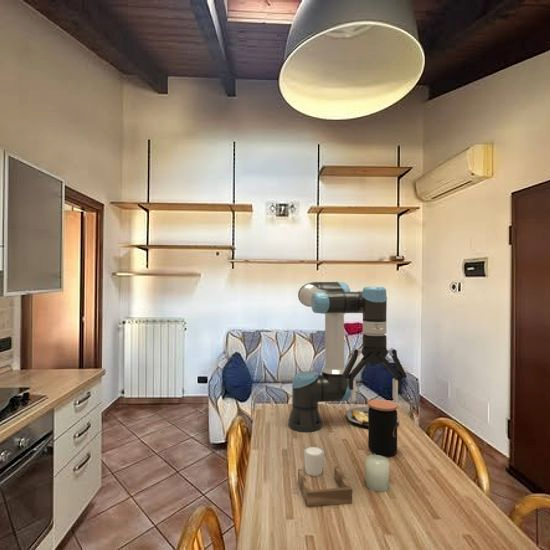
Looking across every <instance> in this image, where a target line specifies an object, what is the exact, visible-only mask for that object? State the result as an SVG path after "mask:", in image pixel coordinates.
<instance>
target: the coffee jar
mask: <svg viewBox="0 0 550 550" xmlns="http://www.w3.org/2000/svg"><path fill="white" fill-rule="evenodd" d="M368 407H369V410H368V413H367V417H368V426H367V427H368V428H367V429H368V431H367V432H368V433H367V435H368V437H367V441H368V449H369V451H370V452H371V453H372V454H373V455H380V456H383V457H385V458H388V457H393V456H395V455H396V453H397V452H398V424H397V418H398V404H397V403H396V402H394V401H392V400H387V399H372V400H369V401H368Z"/></svg>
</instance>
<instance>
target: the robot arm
mask: <svg viewBox="0 0 550 550" xmlns="http://www.w3.org/2000/svg"><path fill="white" fill-rule="evenodd" d="M297 298H298V301H299V302H300V304H302V305H304V306H305V307H309V308H311V310H312V312H313V313H315V314H321V315H323V314H324V317H325V318H324V331H325V332H324V339H325V340H324V342H325V343H324V349H325V350H324V351H325V352H324V353H325V355H324V357H325V359H324V362H325V364H324V368H323V369H322V370H321V374H318V372H317V371H314V370H313V371H311V370H306V371H301V372H298V373H296V374H294V375H293V377H292V382H291V383H292V385H291V388H292V389H291V390H292V393H291V396H292V397H291V399H292V400H291V402H292V404H291V405H292V407H291V410H290V413H289V416H288V420H287V424H288V427H289V428H290V429H291V430H294V431H296V432H303V433H308V432H310V433H311V432H317V431H318V430H321V428H322V427H323V420H322V417H321V414H320V411H319V403H326V402H327V403H329V402H330V403H331V402H338V403H339V402H345V401H348V400H350V398H351V400H352V401H353V402H356V401H357V397H356V396H357V395H356V394H357V386H356V384H357V380H356V379H355V378H356V377H357V376H358V375H359V373H360V372H361V371H362V370H363V368H364V367H365V366H367V364H368V363H370V364H381V363H383V365H385V368H386V369H387V370H388V371H389V372H390V373H391V374H392V375H393V378H392V399H393V400H394V401H395V402H398V401H399V391H400V390H401V382H402V380H403V379H407V374H406V371H405V369H404V368H403V365H402V364H401V362H400V359H399V357H398V352H397V349H394V348H392V347H391V348H390V349H388V348H387V339H388V338H387V335H386V334H387V307H388V306H387V305H388V304H387V301H388V297H387V288H385V287H384V286H365V287H363V288H362V290H361V291H360V290H359V291H351V288H350V286H349V285H348V284H347V283H346V282H342V281H312V282H308V283H306V284H304V285H302V286H300V288H299V290H298V292H297ZM345 314H362V333H363V334H362V348H361V349H359V348H358V349H357V348H352V354H351V357H350V358H349V361H348V362H347V365H346V367H345ZM361 355H362V356H363V357H362V358H361V359H360V360H359V362H358V363H357V365H356V366H355V367H354V365H355V364H356V362H357V359H358V357H359V356H361ZM387 355H389V356H390V357H391V359H392V361H393V363H394V365H395V367H396V369H397V371H398V372H397V371H396V369H395V368H394V367H393V366H392V365H391V364H390V363H389V361H388V360H387V359H386V357H387ZM353 367H354V368H353Z"/></svg>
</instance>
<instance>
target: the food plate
mask: <svg viewBox="0 0 550 550" xmlns="http://www.w3.org/2000/svg"><path fill="white" fill-rule="evenodd" d="M369 407H370V406H363V407H362V406H358V407H352V408H349V409H347V410H346V411H345V412H344V413H345V415H346V417H347V419H348V420H349V421H350V422H351V423H354V424H357V425H361V426H365V427H368V415H366V414H368V410H369ZM399 422H400V419H399V417H397V425H398V424H399Z"/></svg>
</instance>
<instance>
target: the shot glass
mask: <svg viewBox="0 0 550 550" xmlns="http://www.w3.org/2000/svg"><path fill="white" fill-rule="evenodd" d="M324 454H325V451H324V449H323V448H320V447H318V446H308V447H305V449H304V450H303V456H304V467H305V473H306V474H307V475H309V476H312V477H317V476H321V475H322V474H323V465H324Z"/></svg>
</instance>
